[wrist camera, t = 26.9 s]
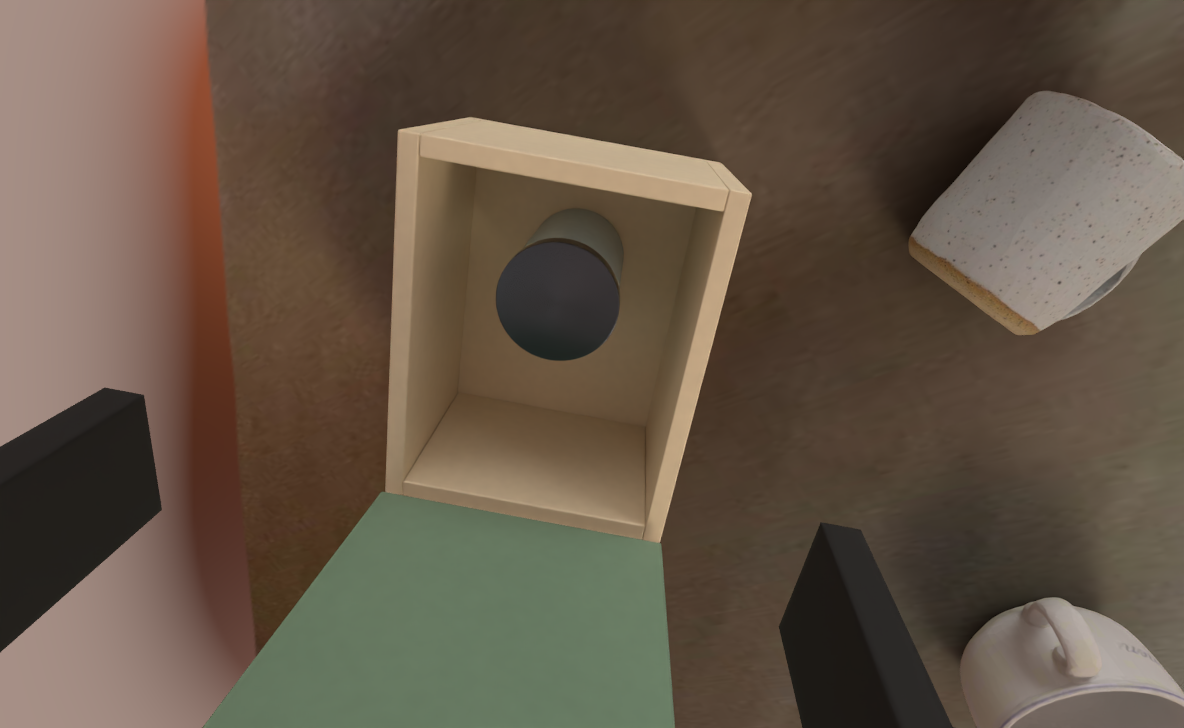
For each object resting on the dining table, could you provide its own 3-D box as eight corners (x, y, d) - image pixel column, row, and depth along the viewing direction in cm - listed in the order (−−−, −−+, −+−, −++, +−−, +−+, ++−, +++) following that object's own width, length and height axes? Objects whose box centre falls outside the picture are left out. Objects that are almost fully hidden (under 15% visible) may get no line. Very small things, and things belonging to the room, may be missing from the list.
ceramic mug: (872, 235, 32) (939, 279, 25) (1000, 84, 28) (1118, 86, 21) (1025, 344, 33) (1128, 414, 26) (1161, 213, 30) (1318, 254, 23)
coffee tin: (524, 208, 32) (487, 245, 24) (623, 203, 31) (616, 239, 24) (534, 303, 34) (503, 363, 26) (627, 299, 33) (622, 359, 26)
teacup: (1103, 694, 43) (1198, 819, 35) (934, 703, 44) (991, 825, 37) (1133, 528, 37) (1251, 635, 30) (939, 545, 39) (1006, 652, 32)
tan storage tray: (469, 116, 31) (397, 129, 22) (721, 162, 31) (752, 193, 22) (447, 395, 37) (384, 492, 28) (656, 433, 37) (659, 543, 28)
